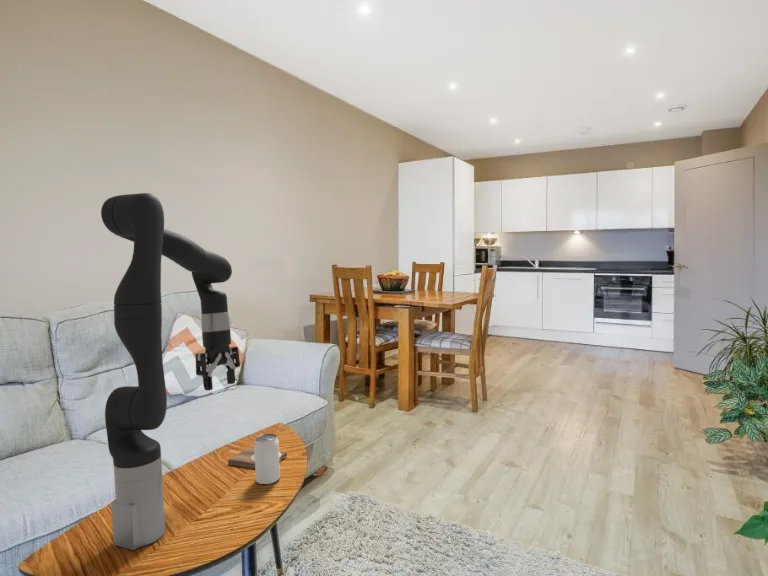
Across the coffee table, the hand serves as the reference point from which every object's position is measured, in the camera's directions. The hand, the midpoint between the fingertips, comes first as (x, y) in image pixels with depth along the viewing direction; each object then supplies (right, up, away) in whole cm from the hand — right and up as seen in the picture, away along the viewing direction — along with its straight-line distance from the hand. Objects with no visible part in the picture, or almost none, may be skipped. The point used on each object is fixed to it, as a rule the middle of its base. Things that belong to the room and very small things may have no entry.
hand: (220, 386), depth 131 cm
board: (+8, -25, +11) cm, 28 cm away
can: (+14, -25, -2) cm, 29 cm away
